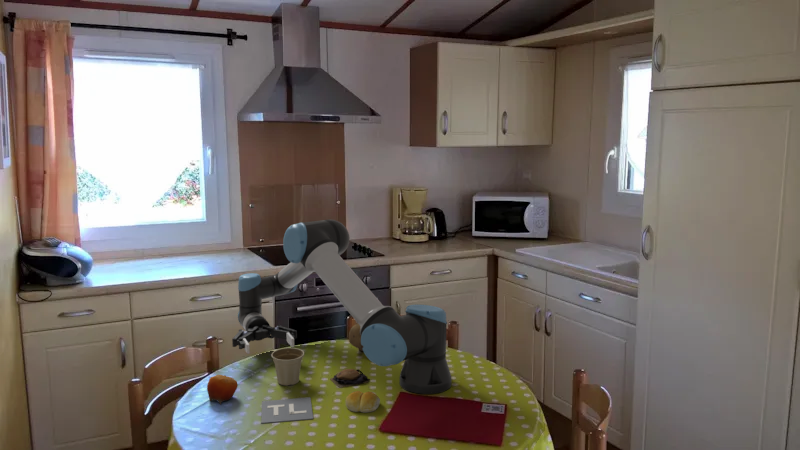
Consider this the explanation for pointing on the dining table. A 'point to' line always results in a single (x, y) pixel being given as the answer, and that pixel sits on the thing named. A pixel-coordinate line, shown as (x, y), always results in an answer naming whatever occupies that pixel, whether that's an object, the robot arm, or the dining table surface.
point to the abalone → (349, 378)
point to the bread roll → (362, 401)
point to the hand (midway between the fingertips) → (270, 346)
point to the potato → (355, 337)
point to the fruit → (221, 388)
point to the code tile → (286, 410)
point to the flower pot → (288, 365)
